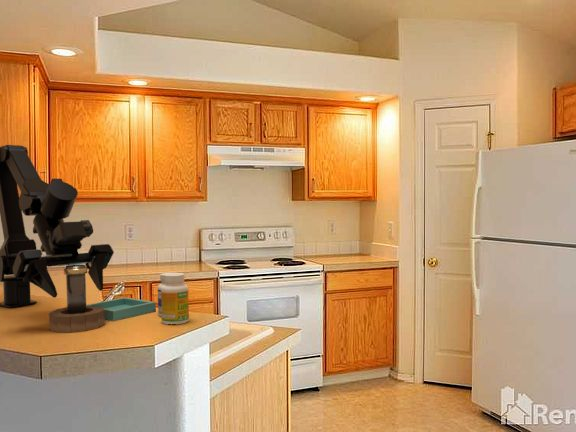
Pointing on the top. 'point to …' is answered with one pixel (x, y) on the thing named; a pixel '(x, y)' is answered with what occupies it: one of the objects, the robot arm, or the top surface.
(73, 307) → the steel pin
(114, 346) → the top surface
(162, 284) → the pill bottle
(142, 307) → the tray
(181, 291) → the supplement bottle
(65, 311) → the socket
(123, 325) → the top surface
